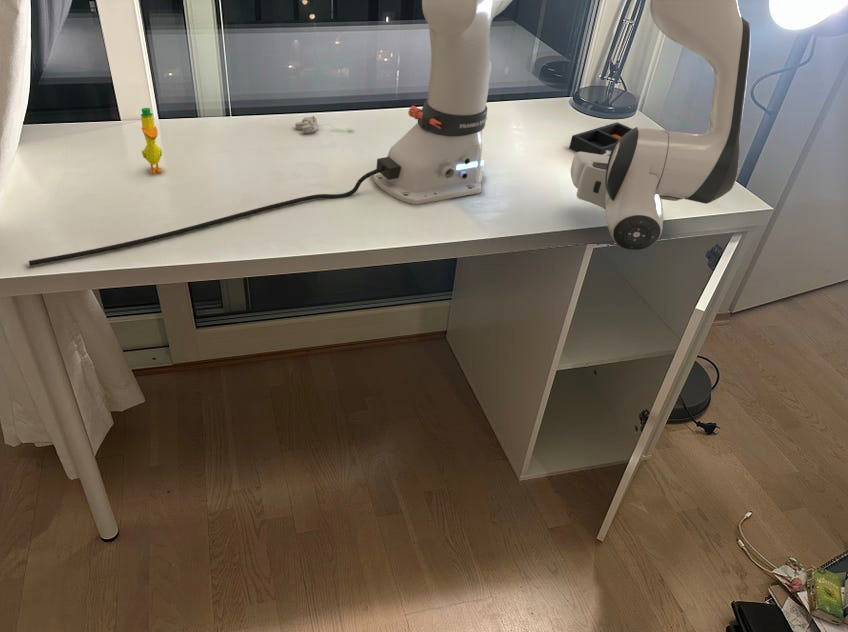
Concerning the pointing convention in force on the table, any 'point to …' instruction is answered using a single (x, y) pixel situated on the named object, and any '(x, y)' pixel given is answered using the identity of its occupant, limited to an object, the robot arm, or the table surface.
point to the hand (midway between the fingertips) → (626, 157)
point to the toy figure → (150, 140)
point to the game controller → (308, 124)
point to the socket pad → (598, 139)
